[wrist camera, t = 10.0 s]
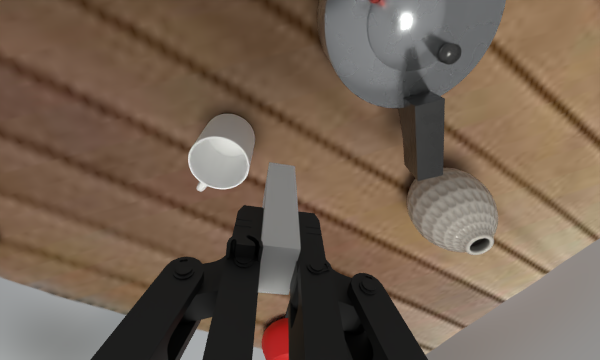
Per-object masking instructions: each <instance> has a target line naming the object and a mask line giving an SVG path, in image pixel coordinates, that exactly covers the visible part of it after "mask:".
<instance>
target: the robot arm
mask: <svg viewBox="0 0 600 360" xmlns="http://www.w3.org/2000/svg"><path fill="white" fill-rule="evenodd" d="M289 290H290V301H289V304H288V308H287V311H286V316H285V318H288V338H289V360H428V359H427V357H426V356H425V354H424V352H423V351H422V349H421V347H420V346H419V344H418V343H417V341H416V339H415V338H414V336H413V334H412V333H411V331H410V329H409V328H408V326H407V325H406V323H405V321H404V320H403V318H402V316H401V315H400V313H399V311H398V310H397V308H396V307H395V305H394V303H393V302H392V300H391V298H390V297H389V295H388V293H387V292H386V290H385V289H384V287H383V285H382V284H381V283H380V282H379V280H378V279H376V278H375V277H373V276H372V275H369V274H366V273H359V274H356V275H354V276H353V278H350V277H347V276H345V275H342V274H340V273H338V272H336V271H335V270H333V269H332V268H331V265H330V263H329V262H328V261H327V260H326V258H325V252H324V246H323V240H322V236H321V230H320V222H319V220H318V218H317V217H316V215H315V214H314V213H306V212H298V203H297V189H296V175H295V166H290V165H283V164H277V163H270V162H269V167H268V173H267V180H266V186H265V192H264V199H263V207H254V206H246V205H244V206H243V207H242V208H241V209H240V210H239V211H238V214H237V218H236V222H235V227H234V231H233V236H232V237H231V238H229V240H228V242H227V250H226V256H224V257H223V258H222V259H220V260H218V261H215V262H211V263H205V264H202V263H201V262H200V261H199V260H197V259H195V258H193V257H181V258H177V259H175V260H173V261H171V262H170V263H169V264H168V265H167V266H166V267H165V268H164V269H163V271H162V272H161V273H160V274H159V276H158V277H157V278H156V279H155V280H154V282H153V283H152V284H151V285H150V287H149V288H148V289H147V290H146V292H145V293H144V294H143V295H142V297H141V298H140V299H139V300H138V302H137V303H136V304H135V305H134V307H133V308H132V309H131V310H130V311H129V313H128V314H127V315H126V316H125V318H124V319H123V320H122V322H121V323H120V324H119V325H118V326H117V328H116V329H115V330H114V331H113V333H112V334H111V335H110V336H109V338H108V339H107V340H106V341H105V342H104V344H103V345H102V346H101V347H100V349H99V350H98V351H97V352H96V354H95V355H94V356H93V357H92V359H91V360H180V358H181V356H182V355H183V353H184V350H185V349H186V347H187V345H188V343H189V341H190V340H191V338H192V336H193V334H194V332H195V330H196V329H197V327H198V325H199V323H200V321H201V319H205V318H209V317H212V321H211V325H210V329H209V334H208V338H207V343H206V347H205V351H204V356H203V360H252V354H253V343H254V331H255V320H256V309H257V297H258V292H261V293H273V294H285V295H288V294H289Z"/></svg>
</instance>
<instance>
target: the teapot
mask: <svg viewBox="0 0 600 360" xmlns="http://www.w3.org/2000/svg"><path fill="white" fill-rule="evenodd" d="M262 349H263V353H264V355H265V358H266V360H289V338H288V318H283V319H280V320H277V321H275V322H273V323H272V324H271V325H270V326H269V327H268V328H267V329H266V330H265V331H264V334H263V338H262Z"/></svg>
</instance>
